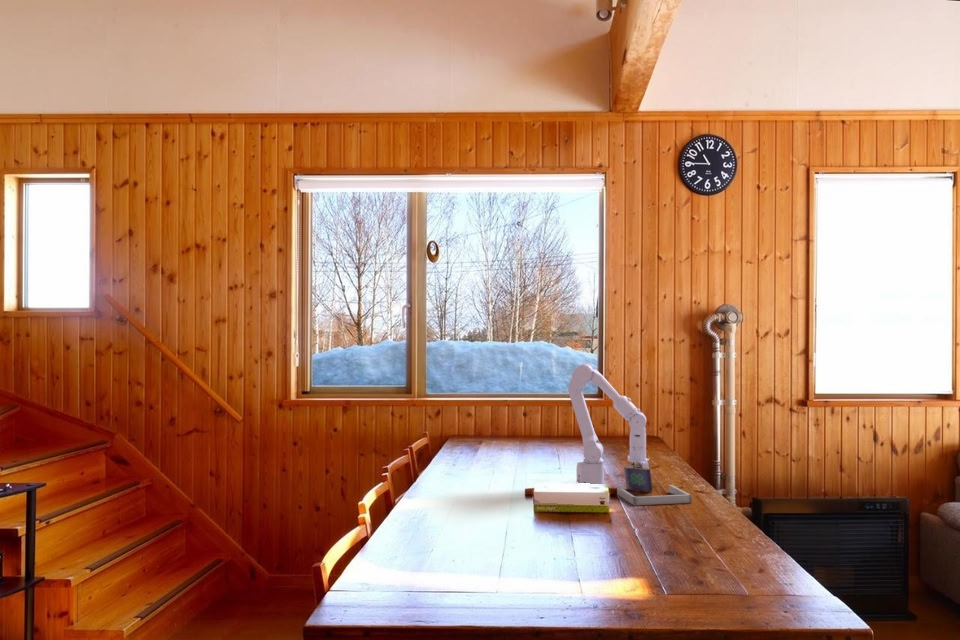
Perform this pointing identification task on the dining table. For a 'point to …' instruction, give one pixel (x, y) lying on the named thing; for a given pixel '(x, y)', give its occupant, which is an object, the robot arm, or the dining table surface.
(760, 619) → the dining table surface
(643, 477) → the flask
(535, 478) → the dining table surface
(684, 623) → the dining table surface
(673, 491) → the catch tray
